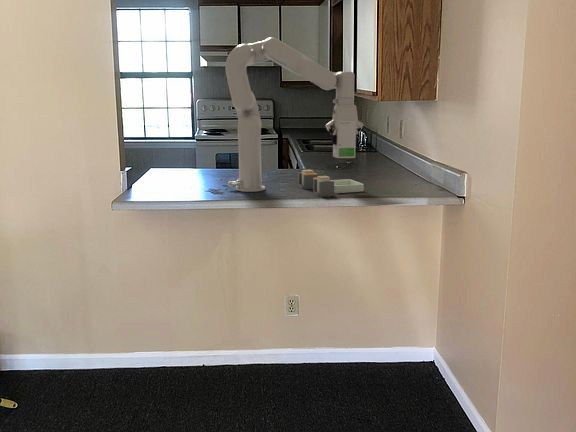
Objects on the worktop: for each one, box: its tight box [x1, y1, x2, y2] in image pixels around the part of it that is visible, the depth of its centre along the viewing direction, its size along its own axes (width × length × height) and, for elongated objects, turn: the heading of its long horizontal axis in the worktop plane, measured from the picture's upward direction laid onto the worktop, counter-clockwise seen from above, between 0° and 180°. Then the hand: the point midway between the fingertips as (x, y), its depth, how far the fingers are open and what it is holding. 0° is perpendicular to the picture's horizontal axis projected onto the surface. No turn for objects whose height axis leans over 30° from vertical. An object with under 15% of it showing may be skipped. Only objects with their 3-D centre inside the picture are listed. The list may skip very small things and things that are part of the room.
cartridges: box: [301, 169, 331, 193], centre depth 259 cm, size 4×22×7 cm, turn 19°
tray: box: [330, 178, 365, 194], centre depth 262 cm, size 13×14×3 cm
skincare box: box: [332, 121, 357, 159], centre depth 258 cm, size 8×7×16 cm
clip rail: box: [297, 172, 335, 198], centre depth 259 cm, size 7×26×6 cm, turn 19°
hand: (344, 143), depth 258 cm, fingers closed on skincare box, 8 cm apart
